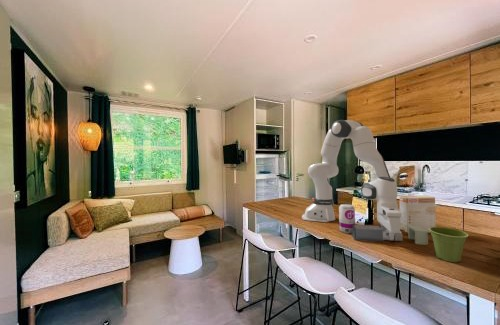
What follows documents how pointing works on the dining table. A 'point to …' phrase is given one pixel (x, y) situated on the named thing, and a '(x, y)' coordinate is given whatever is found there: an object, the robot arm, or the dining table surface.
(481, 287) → the dining table surface
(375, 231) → the sleeve
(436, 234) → the plant pot
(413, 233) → the socket
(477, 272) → the dining table surface
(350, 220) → the supplement can
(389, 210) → the robot arm
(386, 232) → the slip tube
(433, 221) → the coffeecake box
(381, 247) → the dining table surface
